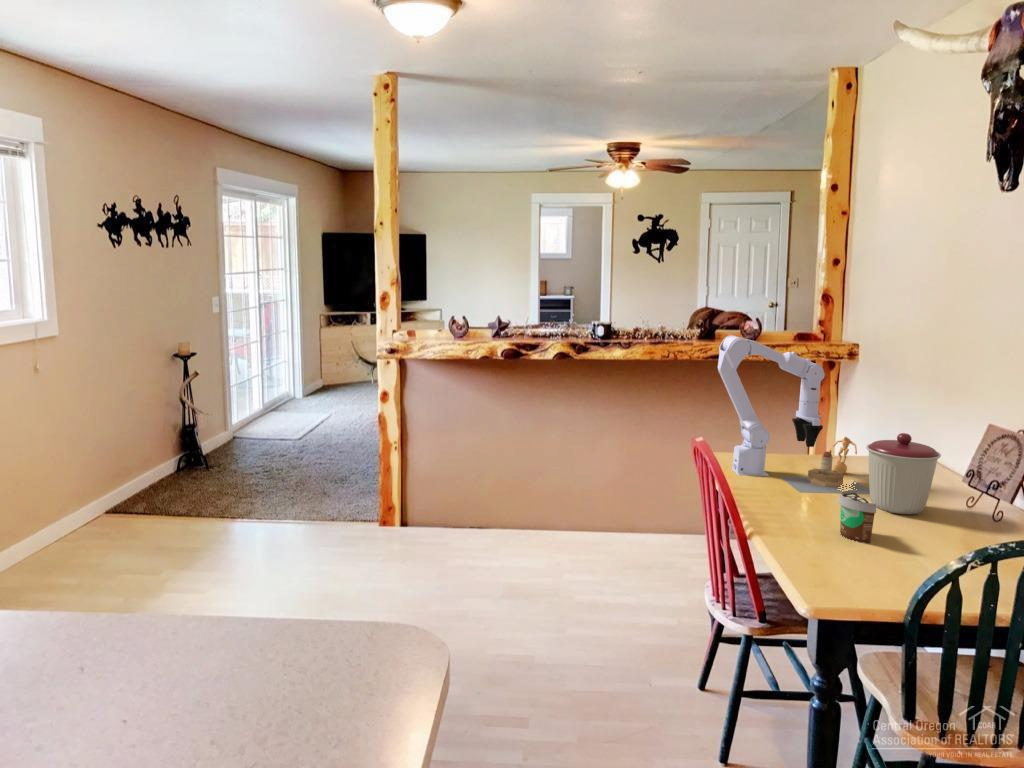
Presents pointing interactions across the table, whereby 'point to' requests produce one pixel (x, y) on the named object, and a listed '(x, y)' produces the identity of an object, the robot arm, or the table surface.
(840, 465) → the figurine
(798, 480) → the felt mat
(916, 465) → the canister
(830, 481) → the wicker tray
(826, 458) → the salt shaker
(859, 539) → the food container
